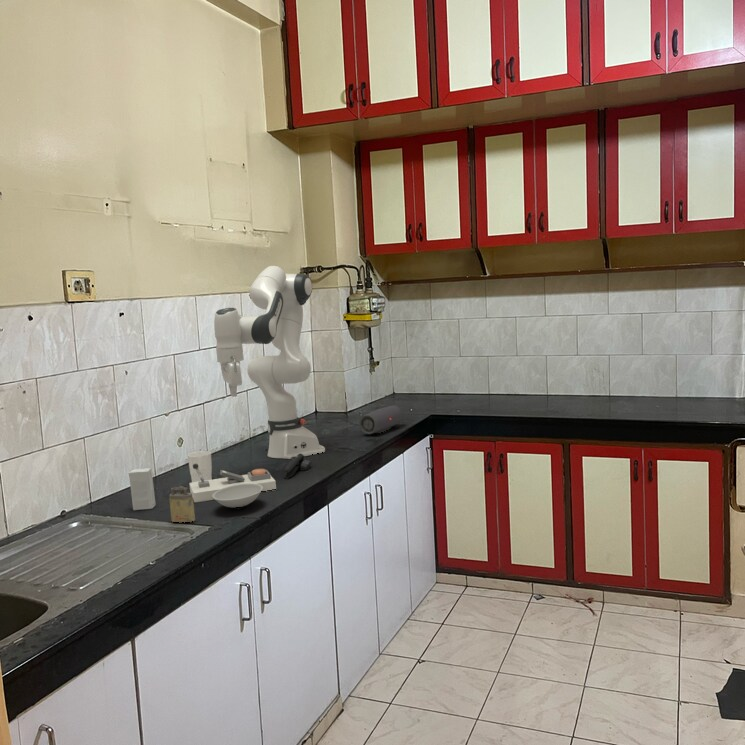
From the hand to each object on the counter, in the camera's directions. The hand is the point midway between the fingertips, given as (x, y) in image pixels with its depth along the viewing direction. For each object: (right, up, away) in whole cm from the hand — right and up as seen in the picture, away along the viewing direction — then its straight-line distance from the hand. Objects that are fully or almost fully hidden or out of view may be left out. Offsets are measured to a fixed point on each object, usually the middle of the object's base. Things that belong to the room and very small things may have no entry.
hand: (233, 396), depth 254 cm
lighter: (-7, -35, -40) cm, 54 cm away
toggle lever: (-7, -27, -15) cm, 32 cm away
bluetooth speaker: (+52, -18, +69) cm, 88 cm away
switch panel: (+2, -31, -11) cm, 33 cm away
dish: (+7, -33, -30) cm, 45 cm away
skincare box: (-23, -34, -24) cm, 48 cm away
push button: (+10, -27, -9) cm, 30 cm away
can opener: (+20, -28, +7) cm, 35 cm away
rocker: (+1, -26, -12) cm, 29 cm away
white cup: (-12, -30, +3) cm, 32 cm away
